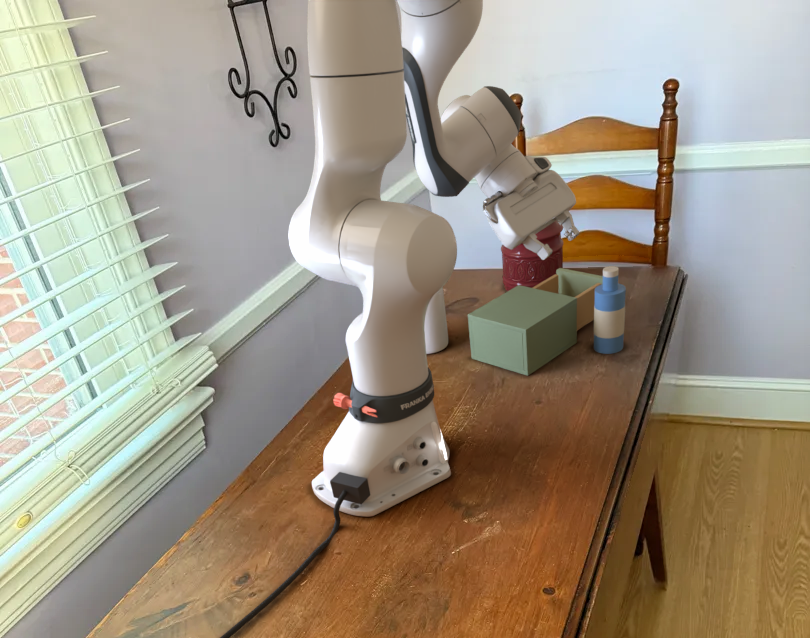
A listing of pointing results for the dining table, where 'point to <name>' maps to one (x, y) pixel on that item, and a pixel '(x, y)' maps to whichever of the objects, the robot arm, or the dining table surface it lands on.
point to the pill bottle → (436, 324)
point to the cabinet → (523, 329)
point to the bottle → (609, 313)
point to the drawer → (575, 291)
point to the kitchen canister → (533, 260)
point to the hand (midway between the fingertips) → (562, 246)
